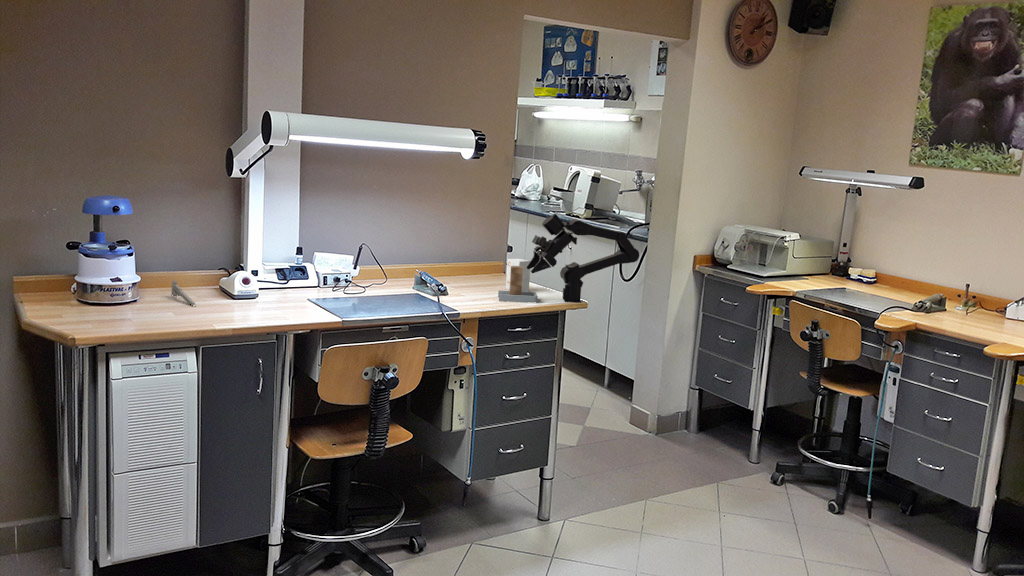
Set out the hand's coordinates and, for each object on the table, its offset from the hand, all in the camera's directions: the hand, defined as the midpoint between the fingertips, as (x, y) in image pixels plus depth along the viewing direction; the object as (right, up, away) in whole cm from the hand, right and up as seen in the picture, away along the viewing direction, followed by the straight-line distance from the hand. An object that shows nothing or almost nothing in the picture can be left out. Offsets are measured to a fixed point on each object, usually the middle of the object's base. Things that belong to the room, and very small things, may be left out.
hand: (529, 270), depth 327 cm
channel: (-5, -11, +1) cm, 12 cm away
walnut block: (-6, -11, +1) cm, 13 cm away
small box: (-5, -8, +21) cm, 23 cm away
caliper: (-122, -12, -36) cm, 128 cm away
